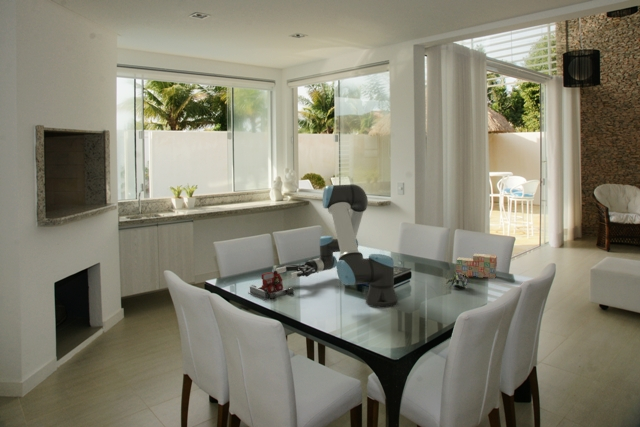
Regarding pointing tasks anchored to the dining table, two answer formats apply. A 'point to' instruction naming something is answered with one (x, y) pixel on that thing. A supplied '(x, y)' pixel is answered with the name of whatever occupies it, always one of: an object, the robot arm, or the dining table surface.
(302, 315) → the dining table surface
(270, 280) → the red plastic toy vehicle
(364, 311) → the dining table surface
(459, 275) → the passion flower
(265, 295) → the chassis bay
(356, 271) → the robot arm
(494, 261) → the stack of blocks
